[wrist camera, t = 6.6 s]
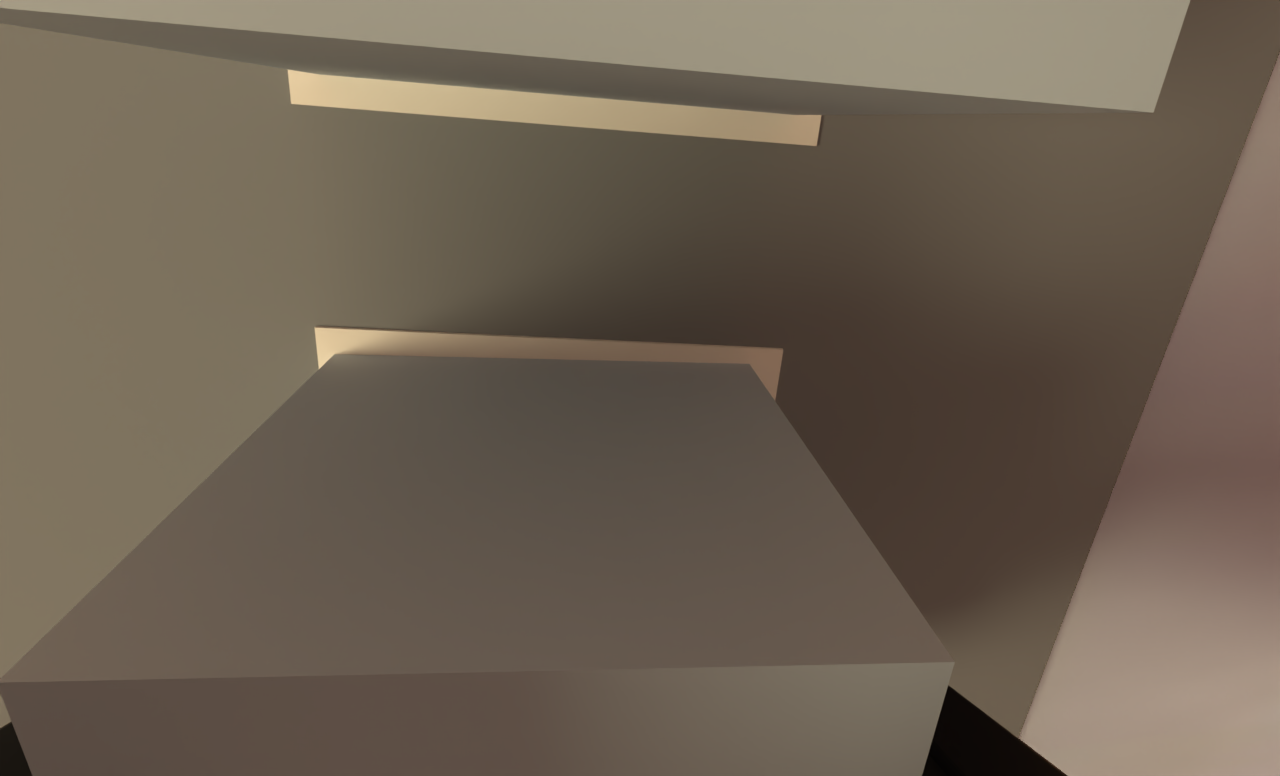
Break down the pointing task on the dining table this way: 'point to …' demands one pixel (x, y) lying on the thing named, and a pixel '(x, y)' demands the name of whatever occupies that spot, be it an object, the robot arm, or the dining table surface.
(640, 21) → the pier
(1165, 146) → the mat
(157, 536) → the block
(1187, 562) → the dining table surface
